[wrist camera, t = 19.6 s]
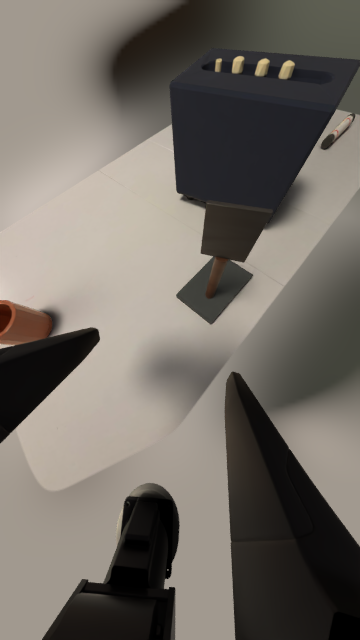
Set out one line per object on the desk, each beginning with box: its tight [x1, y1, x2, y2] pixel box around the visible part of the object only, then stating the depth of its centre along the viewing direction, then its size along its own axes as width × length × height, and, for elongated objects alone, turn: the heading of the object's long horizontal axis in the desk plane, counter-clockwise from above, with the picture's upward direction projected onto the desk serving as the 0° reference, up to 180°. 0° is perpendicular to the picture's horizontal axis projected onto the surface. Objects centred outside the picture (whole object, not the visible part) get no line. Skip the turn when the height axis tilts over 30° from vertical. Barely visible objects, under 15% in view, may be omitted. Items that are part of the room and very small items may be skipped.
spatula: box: [201, 200, 273, 299], centre depth 16 cm, size 2×5×14 cm, turn 72°
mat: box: [176, 256, 253, 324], centre depth 24 cm, size 12×8×1 cm, turn 138°
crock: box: [0, 300, 52, 345], centre depth 22 cm, size 6×6×6 cm
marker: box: [321, 114, 355, 149], centre depth 35 cm, size 15×2×2 cm, turn 137°
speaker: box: [170, 48, 360, 223], centre depth 24 cm, size 22×13×15 cm, turn 59°
